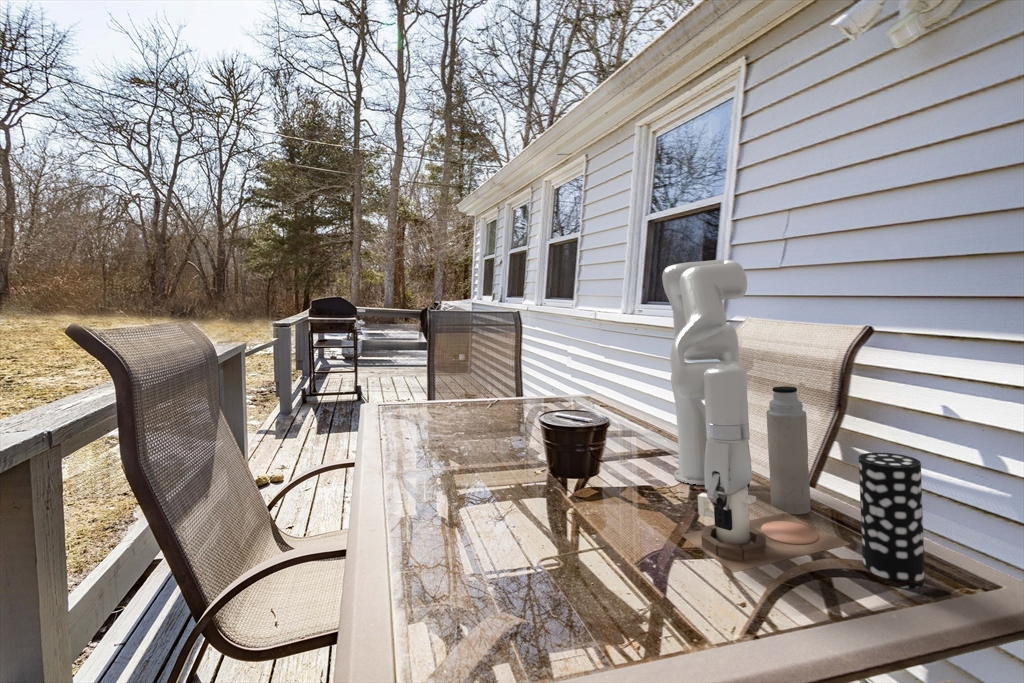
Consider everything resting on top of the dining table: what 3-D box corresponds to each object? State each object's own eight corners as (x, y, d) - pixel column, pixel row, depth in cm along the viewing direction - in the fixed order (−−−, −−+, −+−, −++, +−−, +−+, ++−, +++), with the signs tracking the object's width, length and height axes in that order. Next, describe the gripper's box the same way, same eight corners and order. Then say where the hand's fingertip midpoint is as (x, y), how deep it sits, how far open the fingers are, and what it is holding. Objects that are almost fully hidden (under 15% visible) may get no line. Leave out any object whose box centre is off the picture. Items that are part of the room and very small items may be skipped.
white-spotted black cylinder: (911, 565, 86) (908, 453, 85) (934, 591, 79) (930, 468, 78) (856, 560, 89) (851, 452, 88) (872, 585, 81) (868, 466, 80)
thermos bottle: (803, 500, 117) (797, 383, 115) (816, 514, 109) (810, 389, 108) (766, 500, 118) (760, 385, 117) (777, 514, 111) (771, 390, 109)
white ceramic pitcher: (763, 541, 94) (760, 489, 94) (748, 552, 91) (745, 499, 90) (709, 525, 103) (707, 478, 102) (694, 534, 99) (691, 486, 98)
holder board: (680, 540, 102) (679, 525, 102) (784, 518, 108) (783, 503, 108) (733, 578, 86) (732, 560, 86) (851, 550, 93) (850, 533, 93)
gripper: (730, 419, 103) (735, 504, 104) (685, 437, 92) (690, 531, 93) (767, 424, 97) (772, 513, 98) (723, 443, 86) (729, 544, 87)
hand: (732, 521), depth 96 cm, fingers closed on white ceramic pitcher, 6 cm apart
